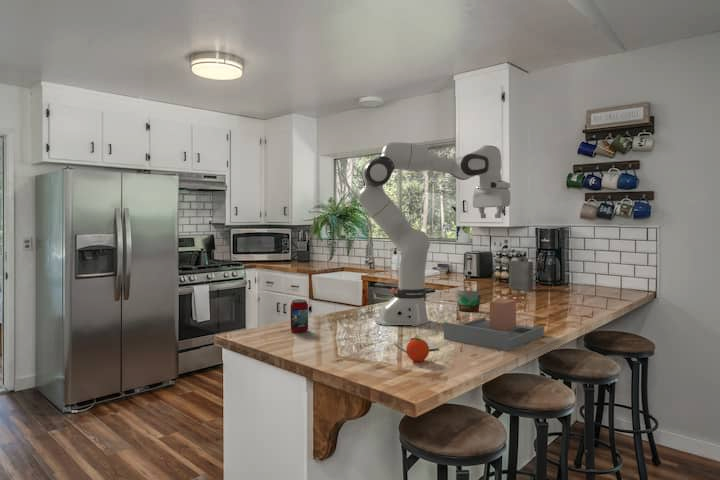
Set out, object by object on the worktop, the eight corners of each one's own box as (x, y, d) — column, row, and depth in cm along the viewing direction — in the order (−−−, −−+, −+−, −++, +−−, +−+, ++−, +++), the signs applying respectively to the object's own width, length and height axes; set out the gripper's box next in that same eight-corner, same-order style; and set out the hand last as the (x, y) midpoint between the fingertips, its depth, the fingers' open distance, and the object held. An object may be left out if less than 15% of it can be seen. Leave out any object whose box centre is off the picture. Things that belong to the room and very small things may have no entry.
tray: (483, 325, 197) (483, 311, 197) (543, 335, 181) (544, 319, 180) (443, 338, 176) (443, 322, 176) (507, 351, 159) (507, 333, 159)
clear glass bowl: (405, 354, 158) (405, 339, 158) (392, 345, 170) (392, 331, 169) (439, 351, 162) (439, 337, 161) (424, 342, 173) (424, 329, 173)
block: (502, 324, 189) (502, 298, 188) (515, 326, 185) (516, 300, 184) (489, 328, 181) (489, 301, 181) (503, 330, 178) (503, 303, 177)
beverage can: (294, 334, 184) (293, 302, 184) (288, 330, 190) (288, 299, 190) (310, 332, 187) (310, 301, 187) (304, 328, 193) (304, 298, 193)
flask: (534, 291, 291) (535, 257, 290) (529, 292, 288) (530, 258, 287) (512, 288, 303) (513, 256, 302) (507, 289, 299) (507, 256, 298)
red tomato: (409, 356, 154) (409, 333, 154) (431, 358, 152) (431, 335, 152) (404, 363, 147) (404, 340, 146) (427, 365, 145) (427, 341, 144)
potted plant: (453, 311, 227) (453, 290, 227) (455, 309, 233) (455, 288, 233) (480, 313, 223) (480, 291, 222) (482, 311, 228) (482, 290, 228)
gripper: (469, 186, 212) (469, 218, 212) (500, 183, 193) (500, 218, 194) (480, 186, 214) (480, 218, 215) (513, 183, 196) (513, 218, 196)
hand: (490, 218), depth 204 cm, fingers open, 8 cm apart
